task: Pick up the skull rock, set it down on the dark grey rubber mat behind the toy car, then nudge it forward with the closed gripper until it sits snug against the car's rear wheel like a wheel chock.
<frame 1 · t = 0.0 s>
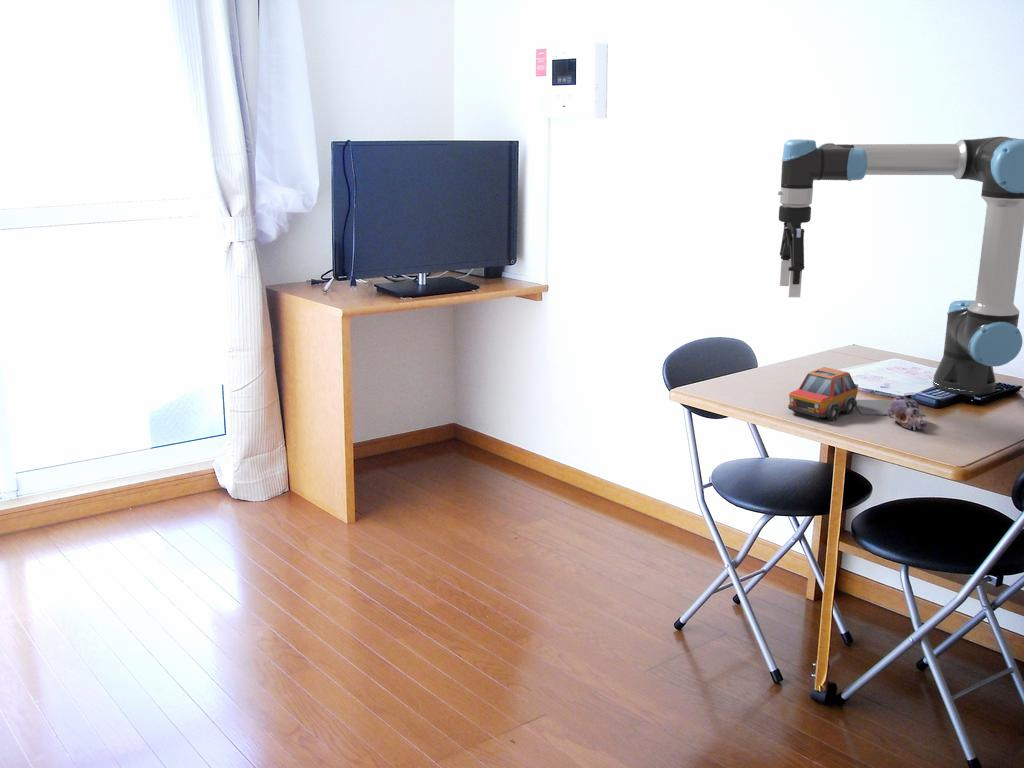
hand: (789, 291, 260), 28 cm above the table, fingers open, 13 cm apart
chock mat: (887, 408, 260), on the table
toy car: (822, 412, 258), on the table
skull: (907, 426, 248), on the table
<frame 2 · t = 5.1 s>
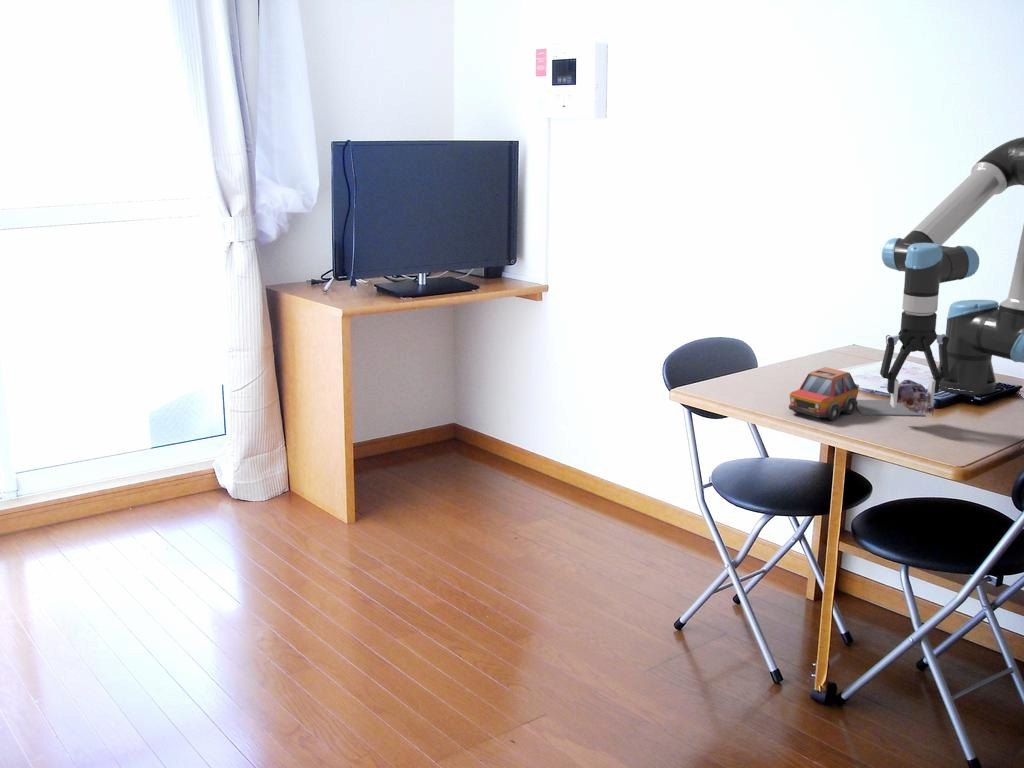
hand: (911, 405, 247), 5 cm above the table, fingers closed on skull, 8 cm apart
skull: (914, 410, 245), point 4 cm above the table, touching gripper
everything else where it was.
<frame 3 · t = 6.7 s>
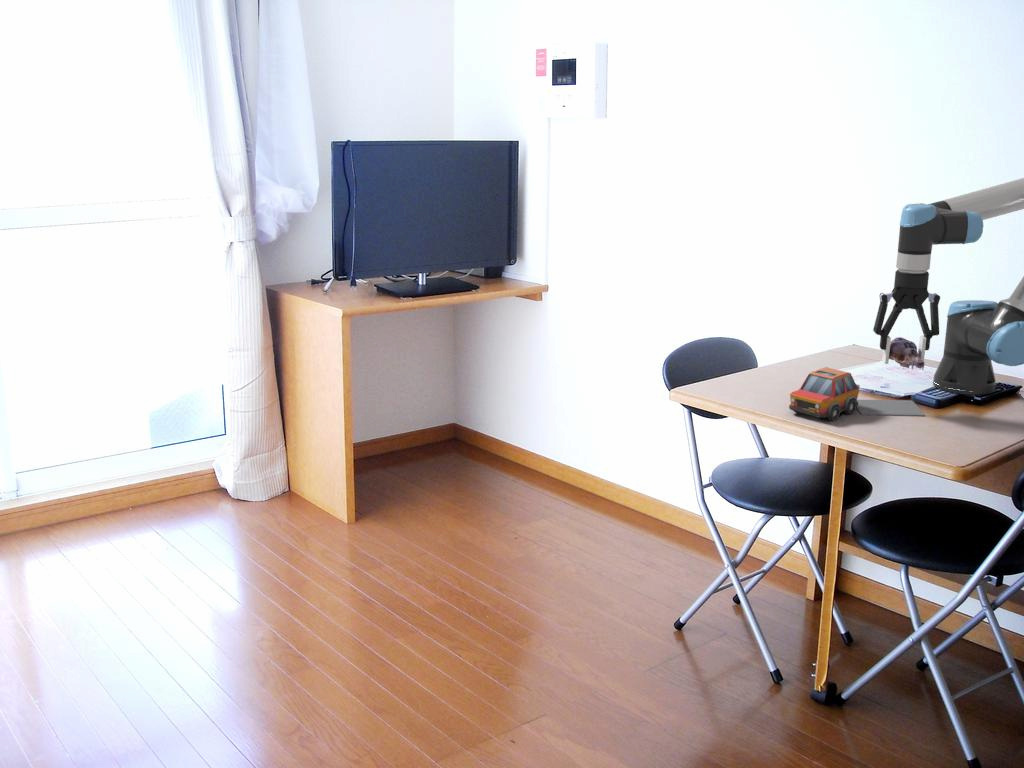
hand: (902, 362, 256), 12 cm above the table, fingers closed on skull, 8 cm apart
skull: (905, 366, 254), point 11 cm above the table, touching gripper
everything else where it was.
when the fingers open (1 cm above the table, at t = 8.5 s): skull stays where it is, resting on chock mat.
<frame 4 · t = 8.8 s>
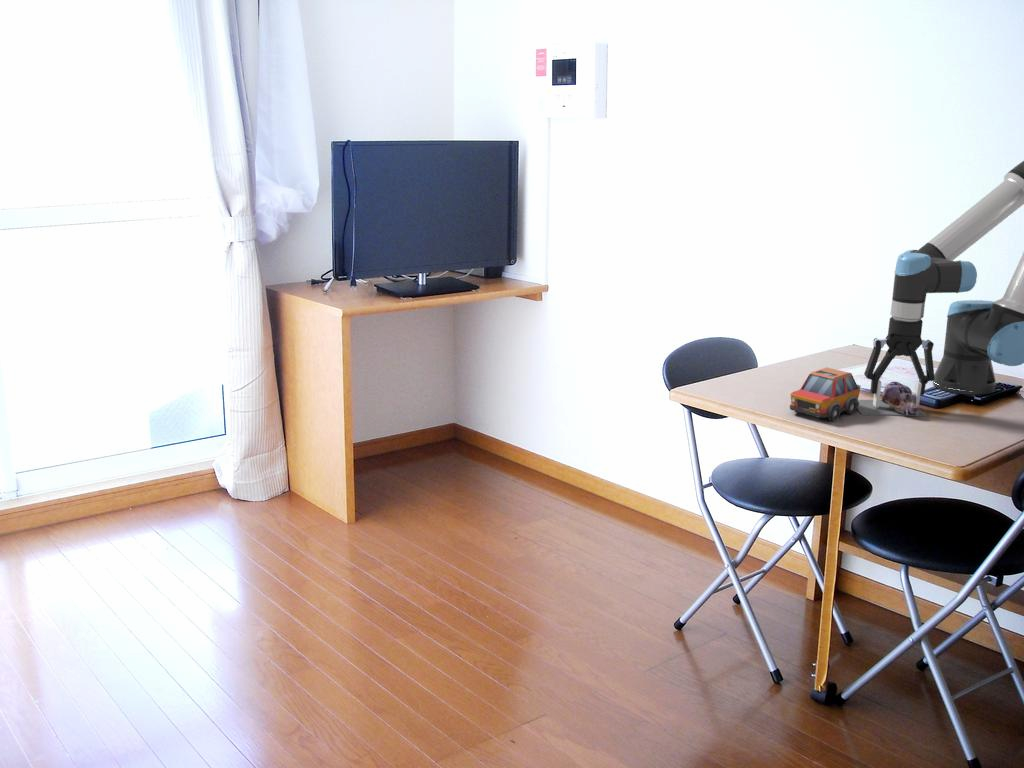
hand: (895, 406, 259), 1 cm above the table, fingers open, 9 cm apart
skull: (900, 411, 257), resting on chock mat
everything else where it was.
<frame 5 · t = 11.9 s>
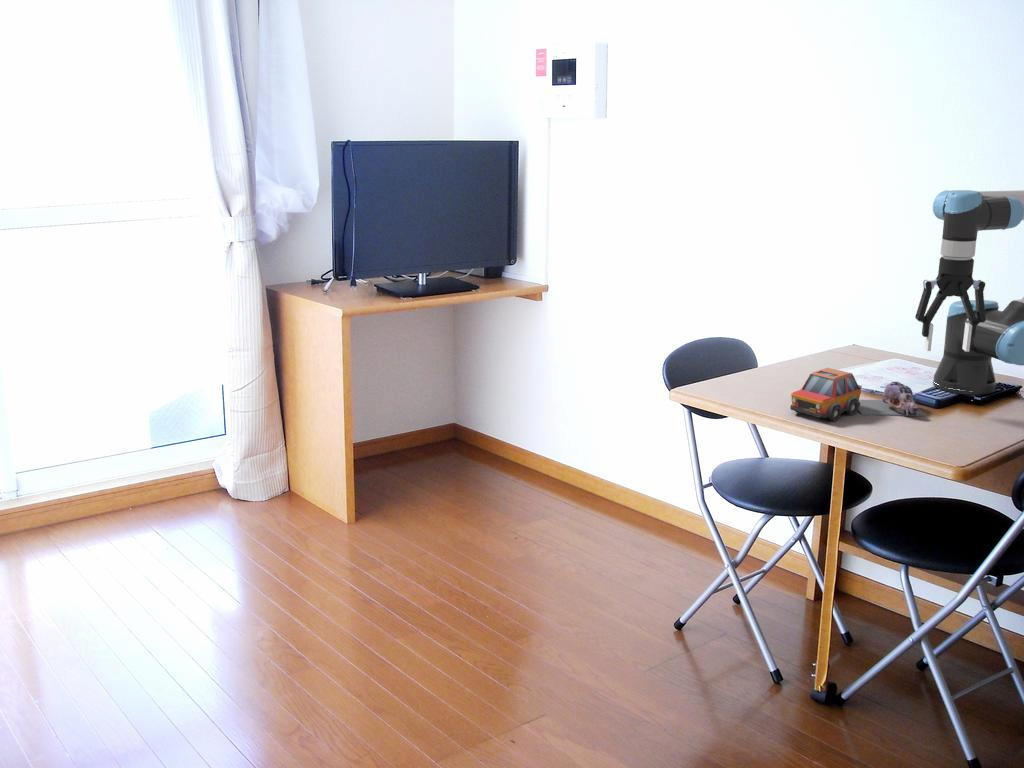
hand: (946, 349, 254), 15 cm above the table, fingers open, 8 cm apart
nothing on the table moved.
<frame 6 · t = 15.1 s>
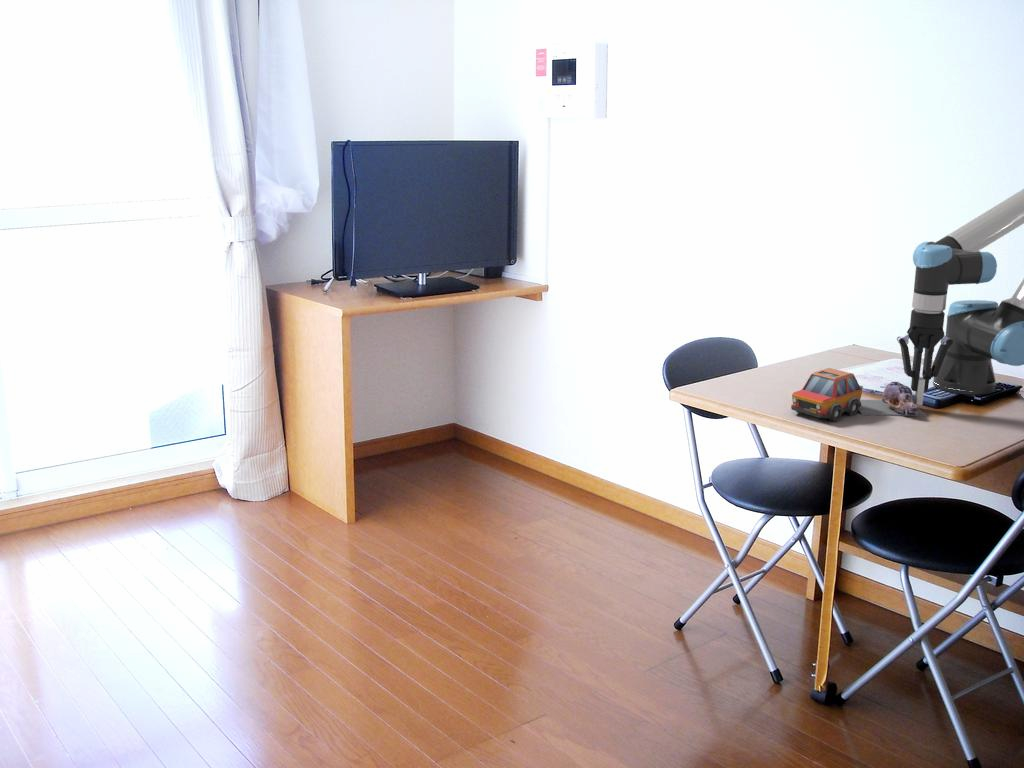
hand: (917, 403, 258), 2 cm above the table, fingers closed
skull: (900, 411, 257), resting on chock mat, touching gripper
everything else where it was.
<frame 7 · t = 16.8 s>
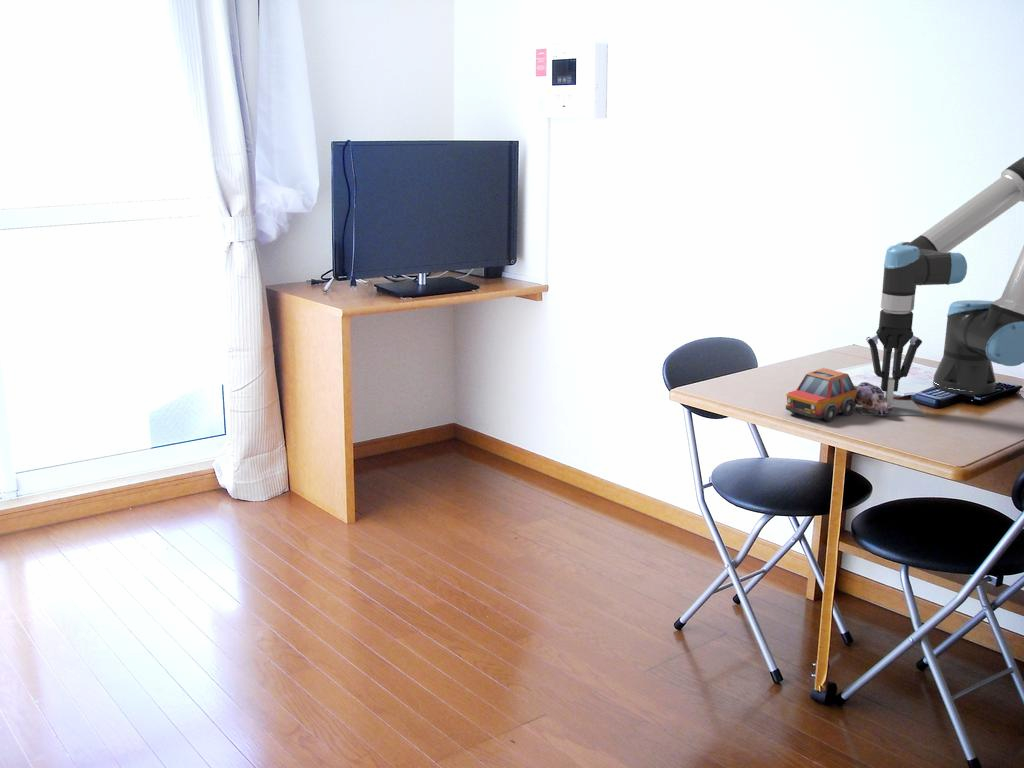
hand: (887, 403, 259), 1 cm above the table, fingers closed
toy car: (820, 414, 257), on the table
skull: (872, 411, 257), resting on chock mat, touching gripper
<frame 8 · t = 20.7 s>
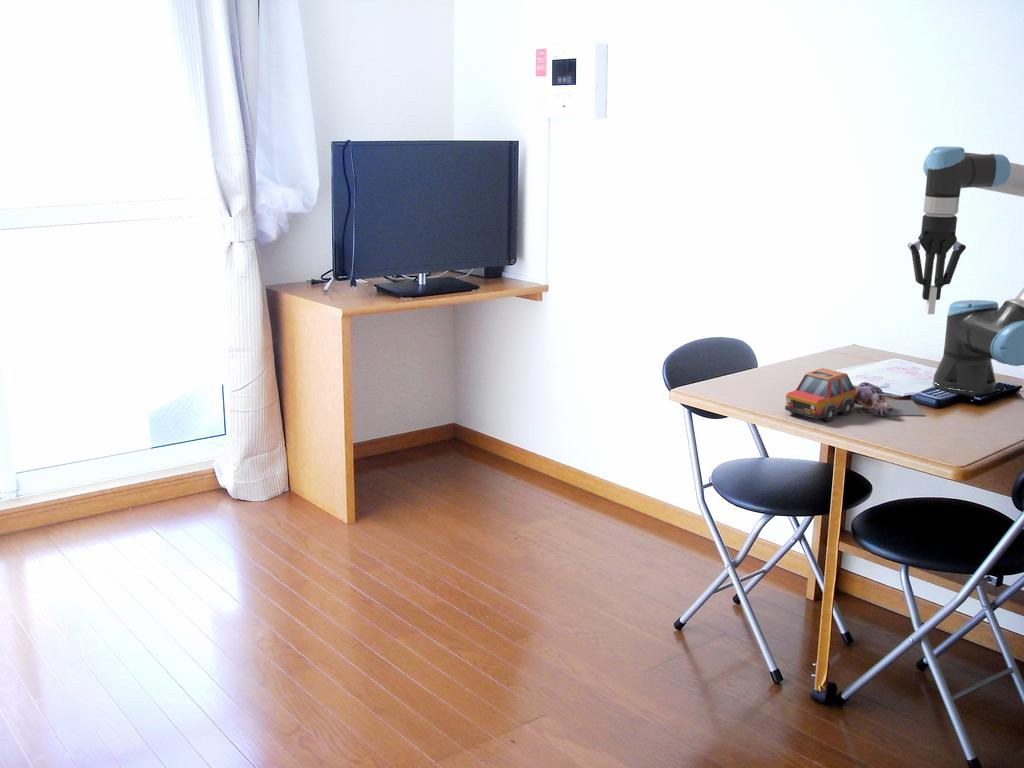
hand: (929, 312, 251), 24 cm above the table, fingers closed
skull: (872, 411, 257), resting on chock mat
everything else where it was.
at the end: skull inside the target area on the table beside the toy car (1.8 cm from its centre), on the table; toy car moved 1.2 cm from its start; the gripper is holding nothing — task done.
